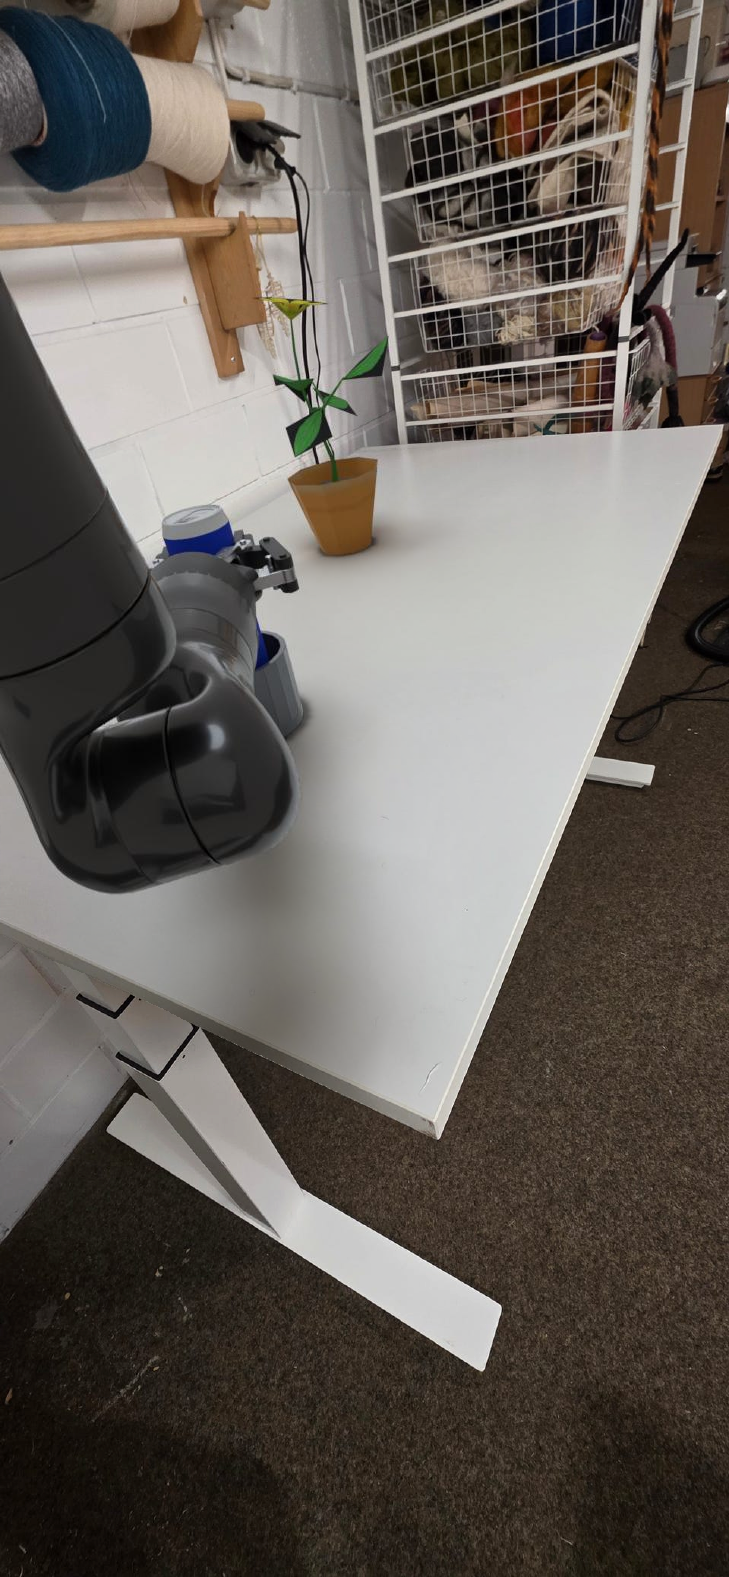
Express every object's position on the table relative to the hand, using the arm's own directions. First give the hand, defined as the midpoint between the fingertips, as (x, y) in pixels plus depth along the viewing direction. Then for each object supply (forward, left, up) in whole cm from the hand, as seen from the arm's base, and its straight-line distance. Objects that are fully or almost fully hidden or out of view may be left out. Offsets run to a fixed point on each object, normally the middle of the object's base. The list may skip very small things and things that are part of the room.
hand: (207, 550), depth 55 cm
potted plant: (+18, +39, -15) cm, 45 cm away
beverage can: (0, -3, -12) cm, 12 cm away
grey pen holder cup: (0, -2, -15) cm, 15 cm away
